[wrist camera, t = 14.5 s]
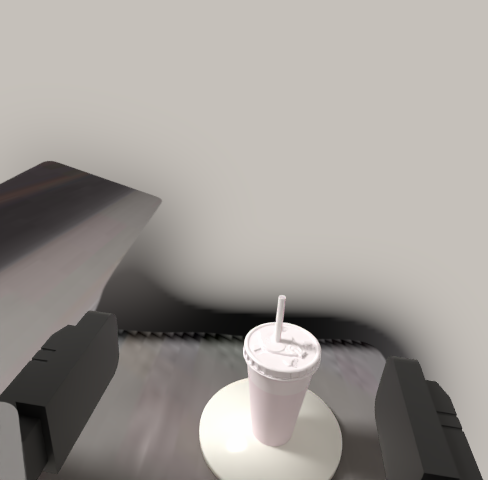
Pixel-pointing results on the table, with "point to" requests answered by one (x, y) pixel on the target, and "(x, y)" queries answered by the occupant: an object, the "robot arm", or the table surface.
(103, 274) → the table surface
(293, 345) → the smoothie
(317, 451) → the plate
